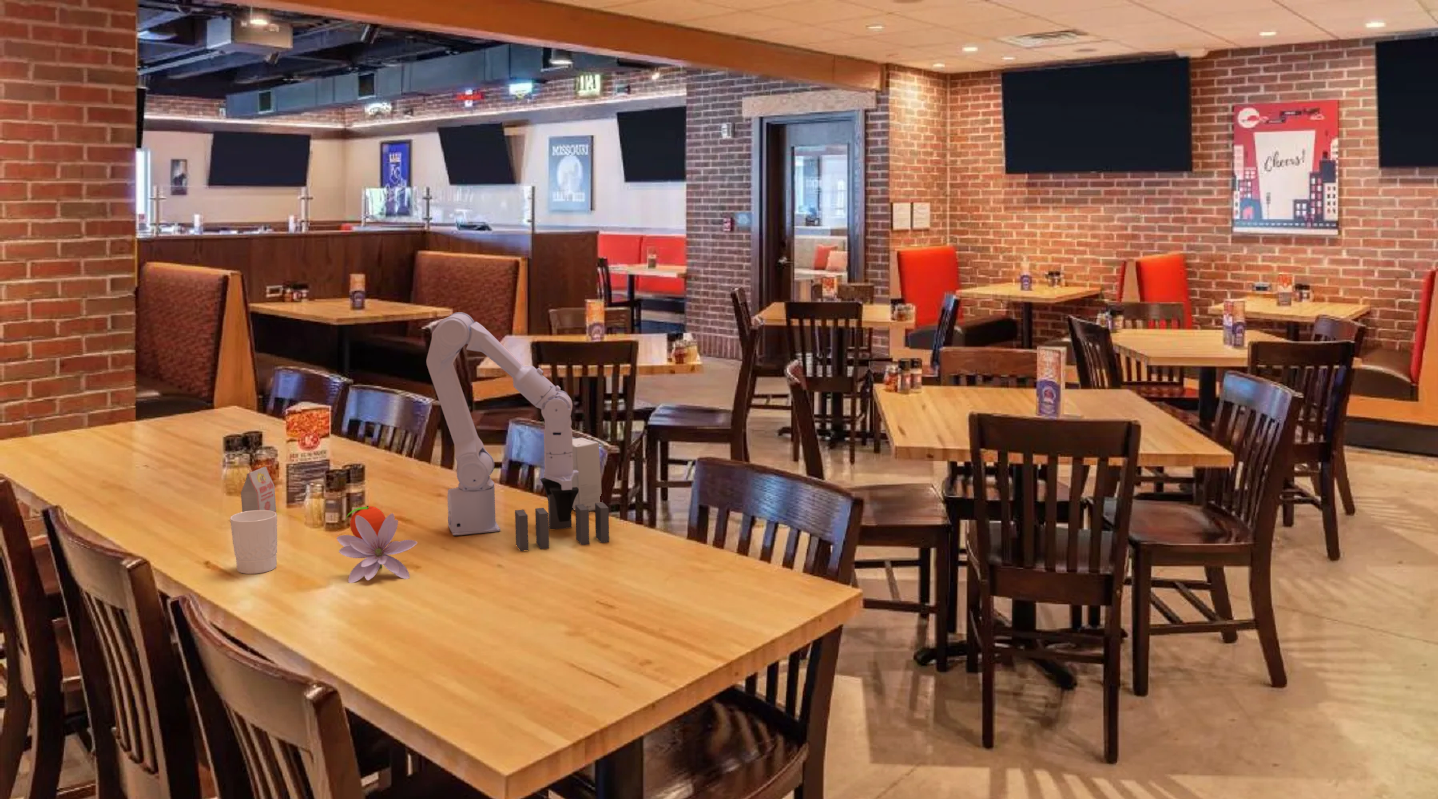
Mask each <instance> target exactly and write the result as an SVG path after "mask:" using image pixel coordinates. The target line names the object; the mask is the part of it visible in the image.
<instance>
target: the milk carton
mask: <svg viewBox="0 0 1438 799" xmlns="http://www.w3.org/2000/svg"><path fill="white" fill-rule="evenodd" d="M267 468H268V467H267V466H262V467H261V468H258V469H256V470H253V471H250V472H248V473H247V474H246V477H245V478H246V479H245V481H244V483H243V486H242V488H241V491H240V499H241V512H245V511H253V510H269V511H274V512H276V513H277V506H276V502H277V501H276V487H275V484H274V481H273V480H272V478H271V476H270V473H269V471H268V469H267Z"/></svg>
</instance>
